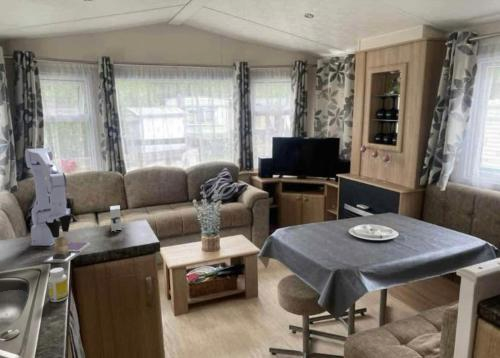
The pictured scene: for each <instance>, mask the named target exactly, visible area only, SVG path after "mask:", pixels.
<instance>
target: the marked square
mask: <svg viewBox="0 0 500 358" xmlns="http://www.w3.org/2000/svg"><path fill="white" fill-rule="evenodd" d="M79 254H81V253H80V252H71V255H70V256H69V257H67V258H66V259H53V254H52V255H50V256H49V257H47V258H46V259H44V260H43V263H69V262H70V261H71V260H73V259H74V258H76V257H77V256H79Z"/></svg>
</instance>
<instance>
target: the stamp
mask: <svg viewBox="0 0 500 358" xmlns="http://www.w3.org/2000/svg"><path fill="white" fill-rule="evenodd" d="M67 243H68V237H66V236H59V237H58V238H56V239H55V240H54V244H53V245H54V253H53V254H52V255H53V259H66V258H67V257H69V256H70V255H71V251H68V244H67Z"/></svg>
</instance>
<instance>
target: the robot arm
mask: <svg viewBox="0 0 500 358" xmlns="http://www.w3.org/2000/svg"><path fill="white" fill-rule="evenodd" d="M24 157H25V158H24V159H25V163H26V167H27V168H29V169H31V172H32V177H33V182H34V189H35V196H36V201H37V202H36V203H37V204H36V205H35V206H34V207H32V209H31V222H32V224H33V225H32V226H31V228H30V238H31V239H30V240H31V244H30V246H45V247H46V246H53V245H55V244H54V240H55V239H56V238H58V237H60V230H62V232H63V233H65V232H69V229H70V225H71V220H72V218H73V217H74V214H73V213H71V208H67V197H66V186H67V184H68V183H67V176H66V174H65V172H62V171H60V170H59V168H58V166H57V165H56V164H55V163H52V160H53V152H52V149H51V148H50V147H45V148H44V147H43V148H42V147H41V148H39V147H38V148H26V149H25V151H24ZM58 220H59V221H58ZM60 228H61V229H60Z"/></svg>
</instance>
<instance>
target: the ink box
mask: <svg viewBox="0 0 500 358" xmlns="http://www.w3.org/2000/svg"><path fill="white" fill-rule="evenodd" d="M109 209H110V210H109V213H110V225H111V226H110V227H111V228H110V229H111V232H112V231H114V232H117V231H116V230H121V231H122V217H121V206H120V204H119V205H111V206H109Z"/></svg>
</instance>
